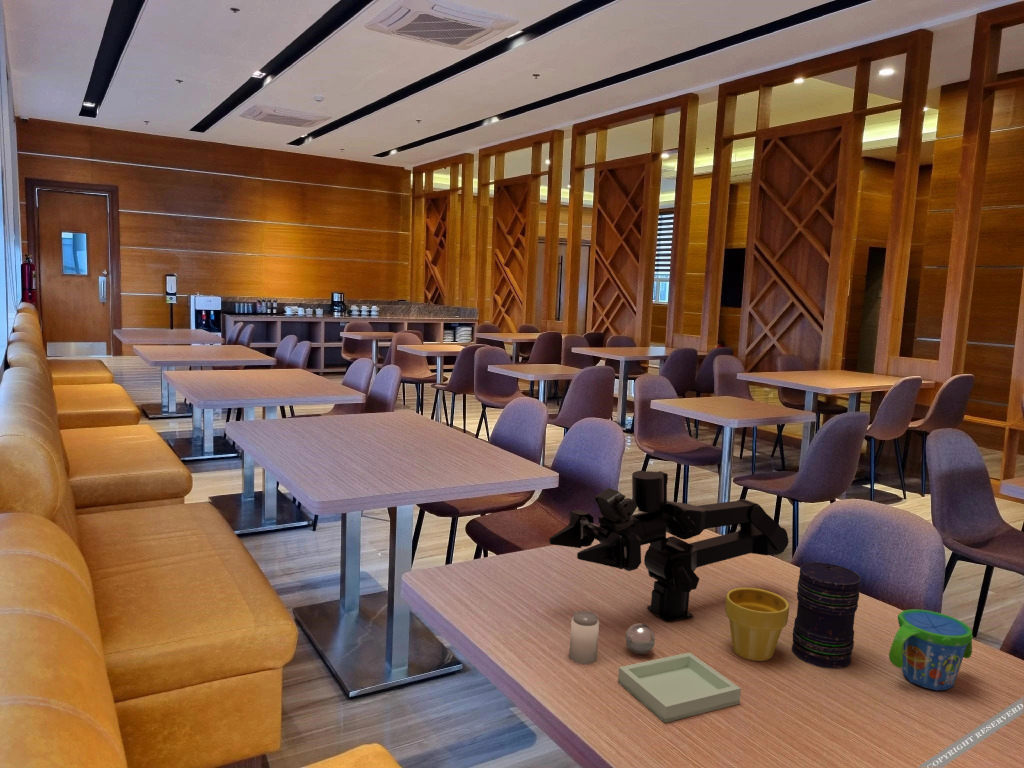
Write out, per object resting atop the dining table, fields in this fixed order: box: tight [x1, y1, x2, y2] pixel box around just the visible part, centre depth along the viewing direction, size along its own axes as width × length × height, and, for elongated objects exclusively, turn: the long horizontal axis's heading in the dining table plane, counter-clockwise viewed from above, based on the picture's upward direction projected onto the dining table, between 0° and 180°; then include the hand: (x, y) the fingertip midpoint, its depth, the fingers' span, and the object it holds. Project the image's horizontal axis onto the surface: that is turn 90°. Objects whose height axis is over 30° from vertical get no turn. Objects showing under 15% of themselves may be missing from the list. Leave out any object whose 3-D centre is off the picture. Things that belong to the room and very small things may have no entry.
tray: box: [617, 651, 742, 724], centre depth 117 cm, size 14×12×2 cm
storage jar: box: [791, 562, 861, 670], centre depth 131 cm, size 10×10×15 cm
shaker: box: [568, 610, 600, 665], centre depth 126 cm, size 5×5×7 cm
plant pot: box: [725, 587, 790, 662], centre depth 131 cm, size 10×10×10 cm
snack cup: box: [888, 608, 974, 691], centre depth 124 cm, size 16×10×10 cm
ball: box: [624, 622, 656, 655], centre depth 129 cm, size 5×5×5 cm
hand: (563, 548), depth 131 cm, fingers open, 9 cm apart
